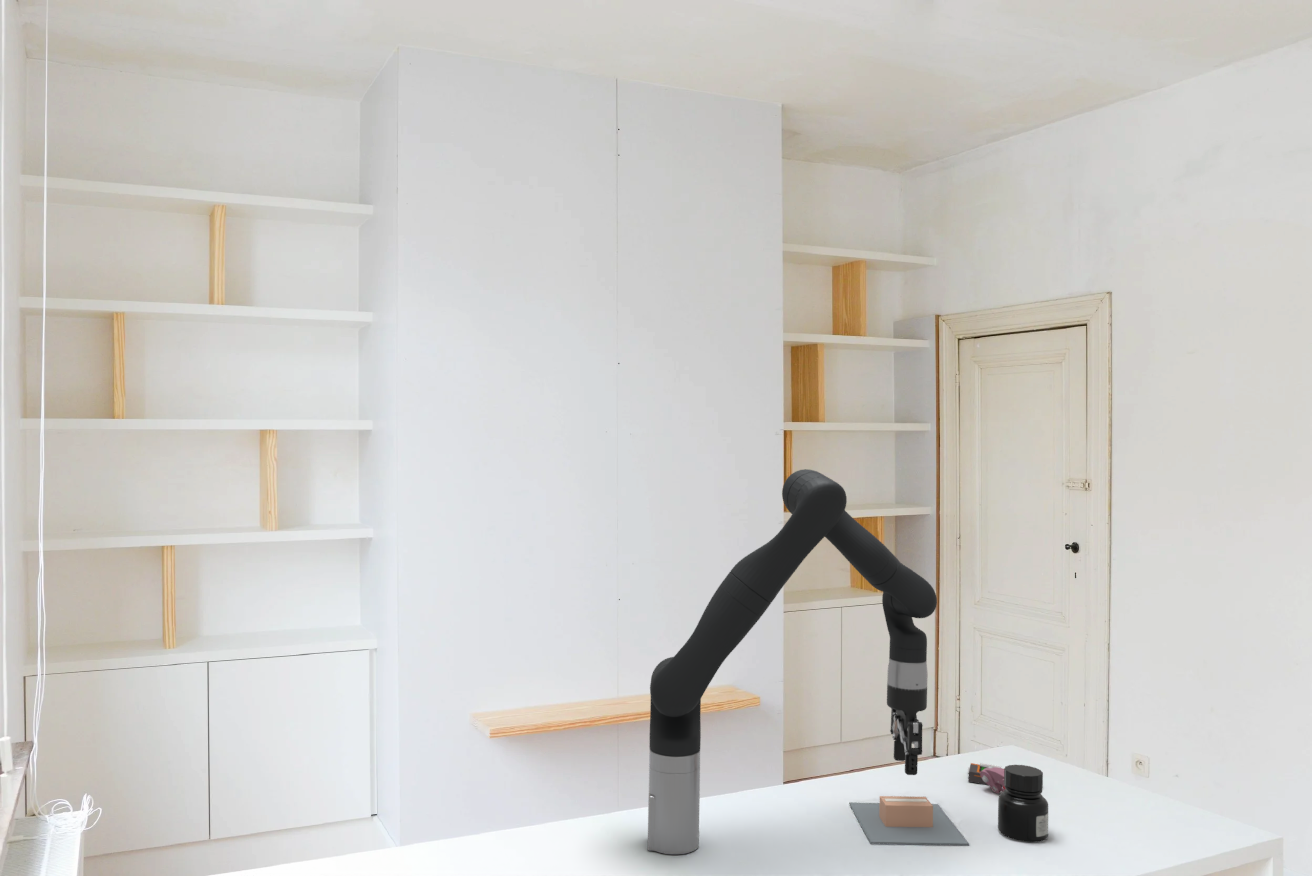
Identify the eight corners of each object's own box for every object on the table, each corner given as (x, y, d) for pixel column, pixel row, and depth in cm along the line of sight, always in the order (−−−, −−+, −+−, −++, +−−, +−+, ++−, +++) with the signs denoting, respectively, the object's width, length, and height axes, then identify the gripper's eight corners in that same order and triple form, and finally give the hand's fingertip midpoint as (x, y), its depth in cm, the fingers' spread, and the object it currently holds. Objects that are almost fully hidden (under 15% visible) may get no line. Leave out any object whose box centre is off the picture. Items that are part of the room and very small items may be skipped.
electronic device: (1041, 782, 206) (967, 769, 212) (1040, 796, 206) (966, 782, 212) (1041, 773, 212) (969, 760, 218) (1040, 786, 212) (968, 773, 218)
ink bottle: (1052, 846, 177) (1053, 780, 178) (1002, 842, 179) (1002, 776, 179) (1042, 826, 187) (1043, 764, 187) (994, 822, 189) (995, 760, 189)
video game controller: (984, 795, 208) (973, 768, 207) (998, 783, 210) (987, 756, 209) (1020, 811, 199) (1009, 782, 198) (1034, 798, 201) (1023, 769, 200)
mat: (870, 844, 177) (870, 841, 177) (849, 804, 197) (849, 802, 197) (969, 845, 177) (969, 843, 177) (937, 805, 197) (937, 803, 197)
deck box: (932, 827, 185) (933, 804, 185) (885, 826, 185) (885, 804, 185) (925, 817, 190) (925, 795, 190) (879, 816, 190) (879, 795, 190)
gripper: (937, 692, 181) (935, 780, 180) (916, 675, 195) (914, 756, 195) (896, 691, 181) (894, 779, 180) (879, 673, 195) (877, 755, 195)
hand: (905, 767), depth 188 cm, fingers open, 8 cm apart
